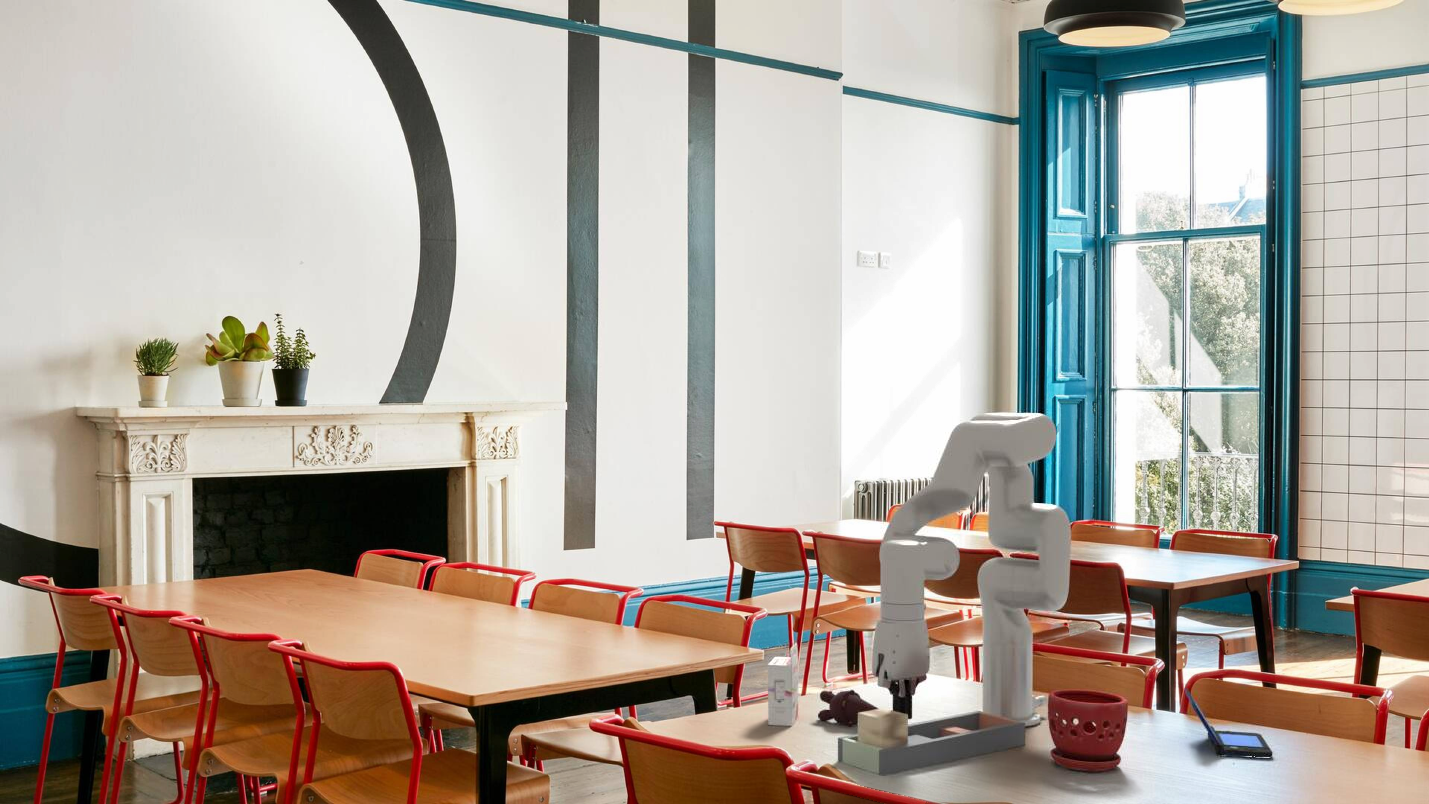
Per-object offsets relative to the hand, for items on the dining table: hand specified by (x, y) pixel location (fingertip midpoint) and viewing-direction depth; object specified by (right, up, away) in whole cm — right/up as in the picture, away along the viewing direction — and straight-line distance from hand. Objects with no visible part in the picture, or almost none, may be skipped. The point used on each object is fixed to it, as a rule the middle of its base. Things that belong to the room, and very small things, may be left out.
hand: (902, 717), depth 230 cm
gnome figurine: (-7, -8, +25) cm, 27 cm away
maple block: (-4, -5, -3) cm, 7 cm away
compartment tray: (+6, -7, +5) cm, 11 cm away
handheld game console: (+60, -8, +10) cm, 61 cm away
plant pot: (+31, -8, -3) cm, 32 cm away
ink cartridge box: (-19, -8, +28) cm, 35 cm away
